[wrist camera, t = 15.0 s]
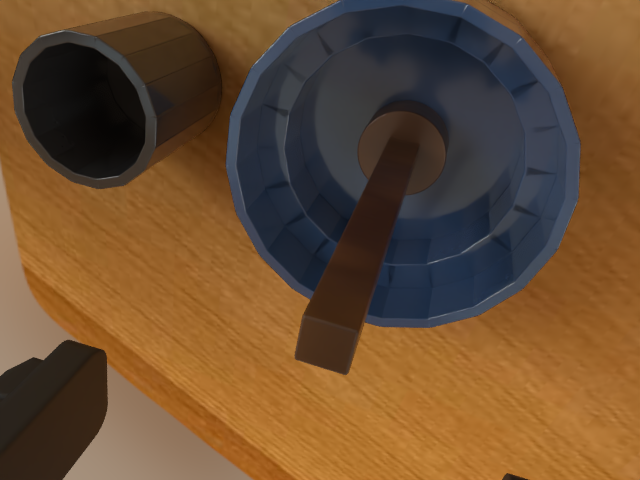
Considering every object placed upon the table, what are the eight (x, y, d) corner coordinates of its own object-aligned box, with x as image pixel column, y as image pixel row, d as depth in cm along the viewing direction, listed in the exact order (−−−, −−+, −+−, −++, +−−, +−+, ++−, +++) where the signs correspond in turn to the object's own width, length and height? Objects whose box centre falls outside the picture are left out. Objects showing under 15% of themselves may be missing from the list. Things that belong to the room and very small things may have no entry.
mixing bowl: (256, 226, 33) (214, 280, 28) (291, -47, 27) (244, -43, 22) (506, 293, 32) (510, 364, 26) (612, 17, 25) (645, 39, 20)
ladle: (357, 169, 30) (237, 383, 16) (374, 90, 28) (257, 253, 14) (435, 190, 29) (386, 431, 15) (459, 111, 27) (429, 303, 13)
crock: (104, 125, 33) (18, 168, 27) (103, -1, 30) (5, 15, 24) (217, 153, 32) (153, 204, 26) (227, 26, 29) (158, 50, 23)
